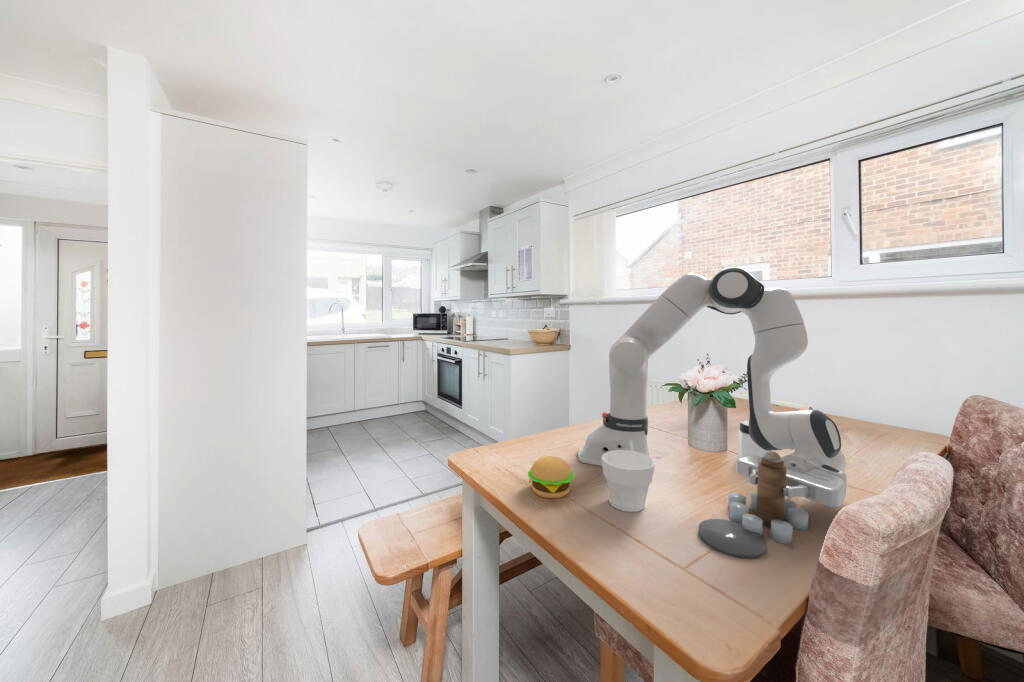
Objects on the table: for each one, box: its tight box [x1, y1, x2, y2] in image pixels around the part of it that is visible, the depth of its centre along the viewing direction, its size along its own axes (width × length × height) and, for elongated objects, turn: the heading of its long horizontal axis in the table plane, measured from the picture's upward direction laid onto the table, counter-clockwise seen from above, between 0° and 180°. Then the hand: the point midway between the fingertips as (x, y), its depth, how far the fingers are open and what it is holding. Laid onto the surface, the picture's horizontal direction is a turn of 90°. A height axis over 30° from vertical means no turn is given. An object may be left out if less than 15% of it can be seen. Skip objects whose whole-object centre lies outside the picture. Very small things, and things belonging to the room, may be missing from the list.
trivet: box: [697, 518, 768, 559], centre depth 77 cm, size 12×12×1 cm
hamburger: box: [527, 455, 575, 499], centre depth 98 cm, size 12×12×9 cm
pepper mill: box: [755, 450, 786, 530], centre depth 82 cm, size 5×5×16 cm
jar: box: [736, 419, 769, 459], centre depth 117 cm, size 9×8×12 cm
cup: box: [601, 450, 656, 513], centre depth 91 cm, size 12×12×11 cm
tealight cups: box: [727, 492, 809, 545], centre depth 83 cm, size 15×16×3 cm
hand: (768, 486), depth 82 cm, fingers open, 5 cm apart
